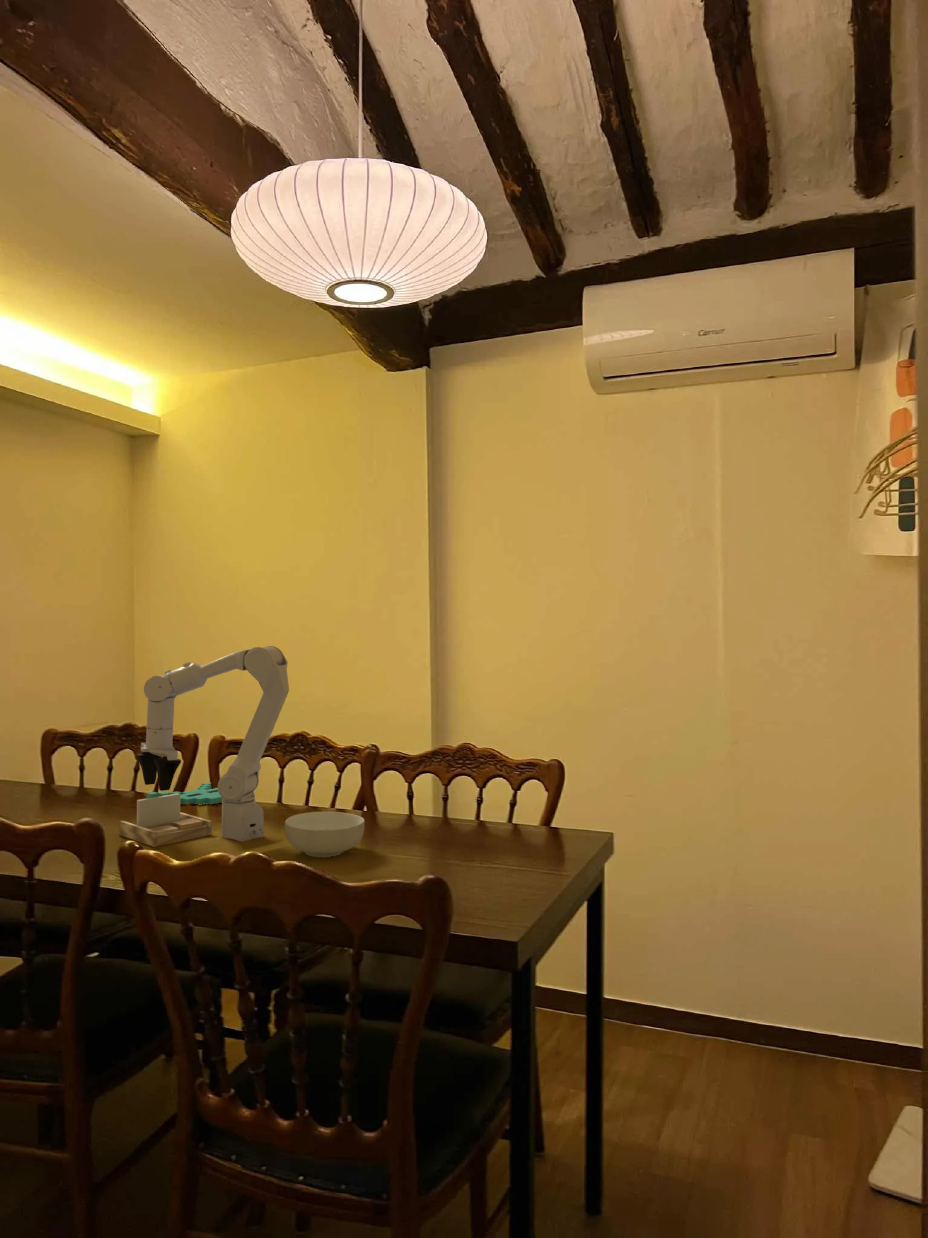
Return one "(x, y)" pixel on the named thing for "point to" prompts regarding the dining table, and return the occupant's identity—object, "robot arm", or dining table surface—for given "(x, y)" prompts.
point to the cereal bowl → (324, 832)
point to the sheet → (158, 810)
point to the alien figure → (194, 795)
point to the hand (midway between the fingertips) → (157, 787)
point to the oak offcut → (187, 824)
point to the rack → (154, 840)
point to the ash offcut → (164, 829)
